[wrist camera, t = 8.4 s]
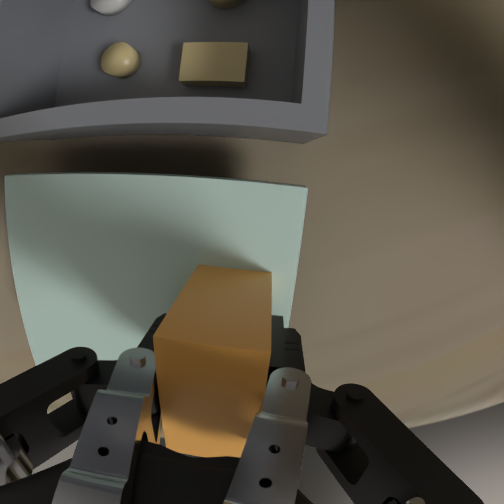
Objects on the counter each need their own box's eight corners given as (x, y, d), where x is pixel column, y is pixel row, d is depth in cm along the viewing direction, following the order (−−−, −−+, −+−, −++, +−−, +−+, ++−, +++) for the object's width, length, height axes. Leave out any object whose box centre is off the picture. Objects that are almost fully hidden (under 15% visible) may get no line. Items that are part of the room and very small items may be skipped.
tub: (315, -43, 11) (330, -118, 5) (303, 143, 15) (327, 134, 8) (81, -24, 12) (22, -64, 5) (50, 139, 16) (-34, 144, 9)
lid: (302, 182, 14) (337, 214, 6) (271, 393, 17) (268, 504, 10) (29, 171, 14) (-76, 194, 7) (52, 350, 18) (-10, 418, 10)
